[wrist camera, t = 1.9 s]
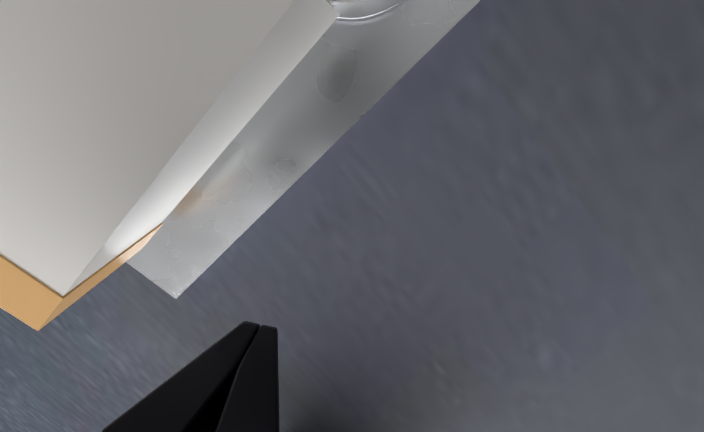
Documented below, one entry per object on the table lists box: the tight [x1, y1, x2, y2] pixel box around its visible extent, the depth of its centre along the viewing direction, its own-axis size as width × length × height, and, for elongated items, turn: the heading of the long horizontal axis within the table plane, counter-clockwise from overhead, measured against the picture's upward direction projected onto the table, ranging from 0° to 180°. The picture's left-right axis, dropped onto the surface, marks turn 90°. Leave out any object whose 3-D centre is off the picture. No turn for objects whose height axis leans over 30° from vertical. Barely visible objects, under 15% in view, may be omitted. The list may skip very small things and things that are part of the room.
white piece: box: [0, 0, 363, 331], centre depth 7 cm, size 15×5×4 cm, turn 134°
